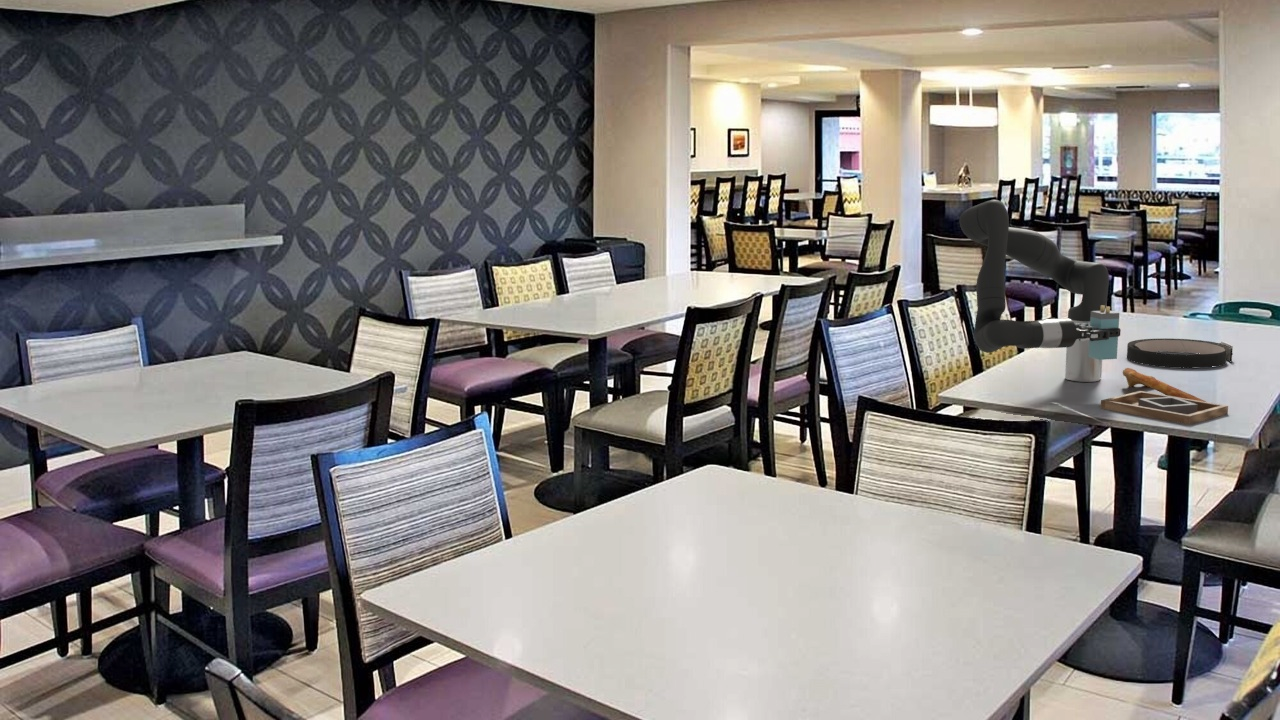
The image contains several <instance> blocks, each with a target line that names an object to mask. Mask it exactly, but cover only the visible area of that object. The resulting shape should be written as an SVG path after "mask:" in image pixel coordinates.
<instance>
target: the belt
mask: <svg viewBox="0 0 1280 720" xmlns="http://www.w3.org/2000/svg"><path fill="white" fill-rule="evenodd" d="M1126 345H1127V348H1126V349H1127V350H1126V358H1127V359H1128V360H1129V359H1130V360H1129V361H1131V360H1132V361H1131V362H1133V361H1135V362H1134V363H1136V362H1138V364H1140V363H1143V364H1142V365H1145V364H1149V365H1148V366H1151V365H1155V366H1154V367H1159V366H1165V367H1164V368H1170V367H1181V368H1180V369H1193V368H1192V367H1212V366H1219V365H1223V364H1225V363H1226V362H1227V361H1228V360H1229V361H1232V360H1233V355H1234V353H1233V349H1234V348H1233V346H1234V345H1232V344H1230V343H1229V342H1225V341H1220V342H1214V341H1209V340H1201V339H1200V340H1199V339H1187V338H1145V339H1136V340H1131V341H1129V342H1128V343H1127V344H1126ZM1157 351H1168V352H1157ZM1179 352H1186V353H1179ZM1192 353H1200V354H1192ZM1226 359H1228V360H1226ZM1229 361H1228V362H1229ZM1225 365H1226V364H1225ZM1223 366H1224V365H1223ZM1183 367H1184V368H1183ZM1219 367H1220V366H1219ZM1212 368H1213V367H1212Z"/></svg>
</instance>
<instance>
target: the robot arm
mask: <svg viewBox="0 0 1280 720" xmlns="http://www.w3.org/2000/svg"><path fill="white" fill-rule="evenodd" d="M1008 212H1009V211H1008V209H1007V208H1006V206H1005V205H1004V204H1003V202H1001V201H1000V200H998V199H991V200H987V201H984V202H981V203H978V204H977V205H974V206H971V207H969V208H967V209H966V210H964V211H963V212H962V213H961V214H960V217H959V227H960V228H961V231H962V233H963V234H964V235H965V236H966V237H967V238H968V239H969V240H971V241H973V242H975V243H977V244H980V245H982V246H986V247H987V249H986V254H985V256H984V259H983V262H982V265H981V267H980V270H979V271H978V274H977V279H976V284H975V285H976V288H975V289H976V290H975V291H976V306H977V307H976V308H977V311H976V316H975V321H974V322H975V323H974V331H973V335H974V337H973V338H974V342H975V344H976V346H977V348H978V349H979V350H980V351H981V352H984V353H987V354H989V353H994V352H996V351H998V350H1000V349H1002V348H1004V347H1012V346H1013V347H1014V346H1015V347H1016V348H1019V349H1058V348H1061V349H1063V348H1066V349H1065V350H1066V351H1065V352H1066V353H1065V370H1064V377H1065V379H1066V380H1068V381H1073V382H1081V383H1083V382H1085V383H1087V382H1088V383H1092V382H1099V381H1100V380H1101V379H1102V373H1103V369H1102V368H1103V360H1098V359H1095V358H1092V357H1088V354H1089V340H1090V341H1098V340H1107V339H1109V337H1118V338H1119V337H1120V336H1121V328H1098V327H1097V326H1090V317H1091V311H1100V309H1101V305H1104V306H1105V310H1106V307H1107V304H1108V303H1107V302H1108V295H1109V285H1110V275H1109V274H1110V273H1109V271H1108V268H1107V266H1106V265H1104V264H1103V263H1099V262H1091V261H1081V260H1075V259H1072V258H1070V257H1068V256H1066V255H1063V254H1062V253H1061V252H1060V249H1059V247H1058V245H1057V244H1056V243H1055V242H1054V241H1053V240H1051V239H1050V238H1049V237H1047V236H1045V235H1043V234H1042V233H1040V232H1038V231H1034V230H1031V229H1026V228H1018V227H1010V221H1009V213H1008ZM1007 257H1010V258H1012V259H1013V260H1015V261H1017V262H1019V264H1022V265H1024V266H1025V267H1027V268H1029V269H1031V270H1033V271H1036V272H1037V273H1039V274H1042V275H1043V276H1046V277H1048V278H1050V279H1052V280H1053V281H1055V283H1057V284H1058V285H1059V286H1061V287H1062V288H1064V289H1065V290H1066V291H1068V292H1070V293H1072V294H1075V295H1082V297H1081V302H1080V303H1079V304H1078V305H1075V306H1073V307H1070V308H1069V309H1068V312H1067V318H1066V317H1065V318H1062V317H1061V318H1048V319H1047V318H1044V319H1038V320H1024V321H1019V320H1012V319H1001V317H1002V314H1004V312H1005V311H1006V305H1007V303H1006V287H1005V267H1006V266H1005V265H1006V258H1007ZM1092 329H1094V330H1092Z"/></svg>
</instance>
